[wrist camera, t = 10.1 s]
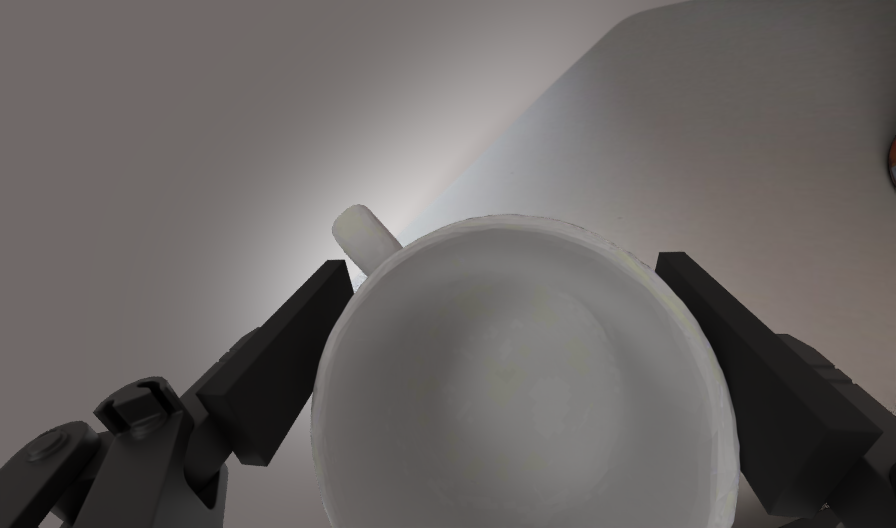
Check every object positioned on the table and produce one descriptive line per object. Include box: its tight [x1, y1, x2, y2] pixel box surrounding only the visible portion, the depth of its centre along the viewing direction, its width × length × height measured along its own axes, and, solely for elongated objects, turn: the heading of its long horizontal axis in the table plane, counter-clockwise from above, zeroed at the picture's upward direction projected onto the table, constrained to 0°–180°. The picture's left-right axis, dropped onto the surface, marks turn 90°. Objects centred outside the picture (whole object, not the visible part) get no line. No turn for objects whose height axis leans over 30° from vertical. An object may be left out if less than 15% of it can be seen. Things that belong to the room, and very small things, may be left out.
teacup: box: [311, 204, 740, 528], centre depth 12 cm, size 14×11×8 cm
